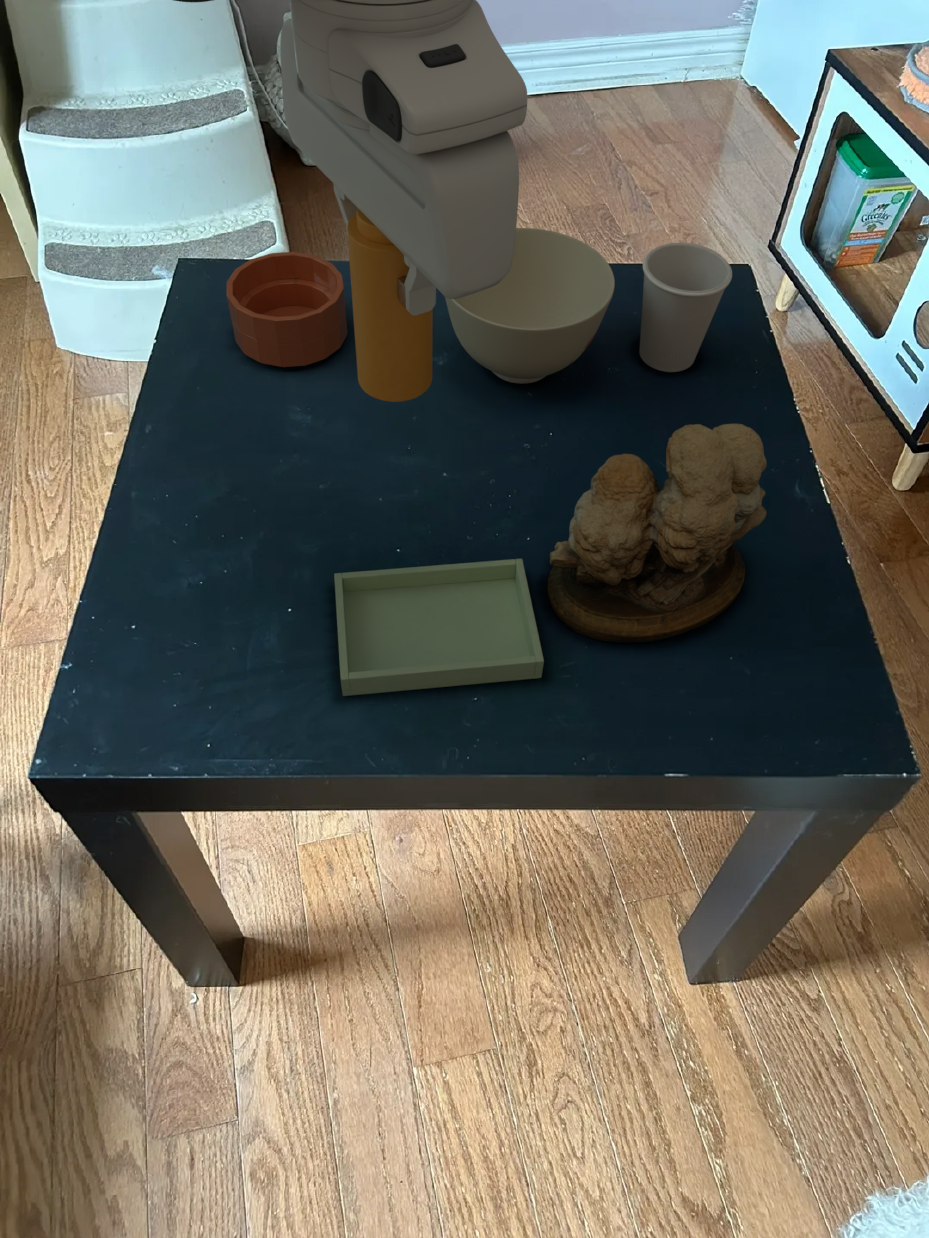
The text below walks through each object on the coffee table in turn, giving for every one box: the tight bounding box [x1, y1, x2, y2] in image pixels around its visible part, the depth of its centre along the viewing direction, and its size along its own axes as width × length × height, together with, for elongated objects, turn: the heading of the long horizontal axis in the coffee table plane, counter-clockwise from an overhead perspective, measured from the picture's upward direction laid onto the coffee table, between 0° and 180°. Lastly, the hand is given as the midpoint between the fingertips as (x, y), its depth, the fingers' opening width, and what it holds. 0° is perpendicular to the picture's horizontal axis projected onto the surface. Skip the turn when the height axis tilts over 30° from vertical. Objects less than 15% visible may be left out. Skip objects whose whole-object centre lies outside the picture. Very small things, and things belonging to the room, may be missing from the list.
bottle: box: [346, 208, 434, 403], centre depth 59 cm, size 5×5×16 cm
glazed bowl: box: [226, 251, 348, 368], centre depth 96 cm, size 11×11×6 cm
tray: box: [333, 558, 545, 697], centre depth 75 cm, size 15×10×2 cm
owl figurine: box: [546, 423, 768, 644], centre depth 73 cm, size 18×12×17 cm, turn 113°
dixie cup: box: [638, 242, 733, 373], centre depth 94 cm, size 8×8×10 cm
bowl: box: [444, 227, 616, 385], centre depth 93 cm, size 16×16×10 cm
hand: (391, 280), depth 59 cm, fingers closed on bottle, 5 cm apart
